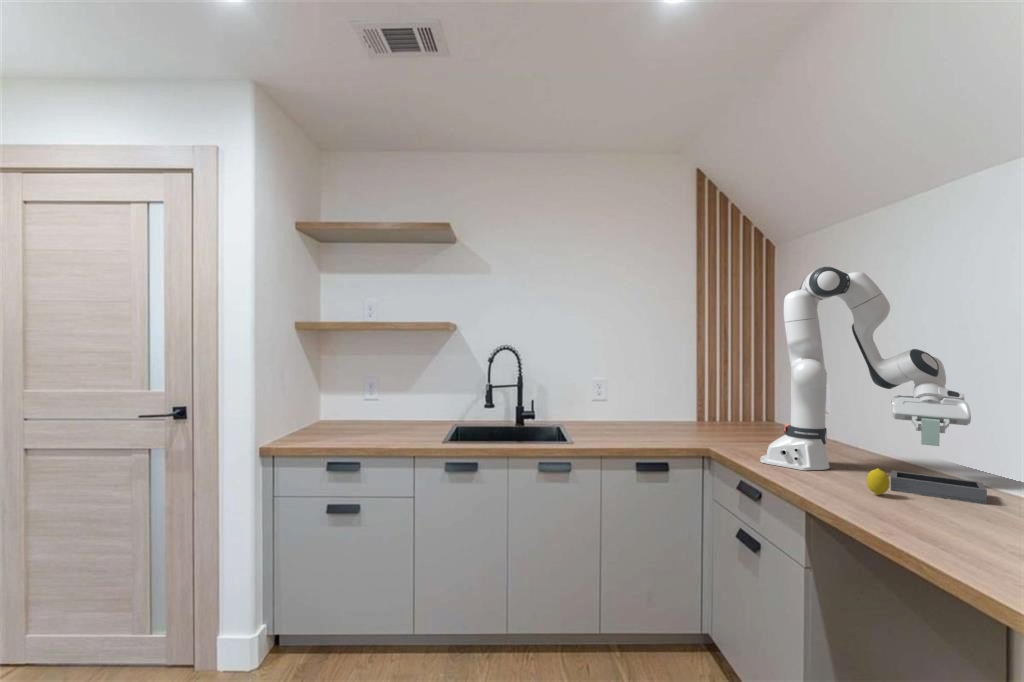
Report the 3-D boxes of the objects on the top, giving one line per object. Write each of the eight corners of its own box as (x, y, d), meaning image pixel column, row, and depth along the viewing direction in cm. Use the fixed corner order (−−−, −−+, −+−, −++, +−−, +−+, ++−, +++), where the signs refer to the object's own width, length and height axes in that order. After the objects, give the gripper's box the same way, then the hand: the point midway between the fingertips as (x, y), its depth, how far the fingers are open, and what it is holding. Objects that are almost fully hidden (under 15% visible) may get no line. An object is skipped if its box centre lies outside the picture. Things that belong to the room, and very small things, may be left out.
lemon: (867, 491, 161) (868, 465, 161) (889, 495, 157) (890, 468, 157) (865, 495, 156) (865, 468, 156) (888, 499, 153) (888, 471, 153)
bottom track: (890, 490, 162) (890, 477, 162) (891, 482, 170) (891, 470, 170) (986, 504, 149) (987, 490, 149) (982, 495, 157) (982, 482, 157)
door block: (921, 444, 170) (922, 419, 170) (920, 442, 174) (921, 417, 174) (939, 446, 168) (939, 421, 167) (938, 444, 171) (939, 419, 171)
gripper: (891, 389, 182) (890, 421, 174) (970, 394, 170) (972, 428, 162) (891, 401, 186) (890, 432, 178) (968, 406, 174) (970, 440, 166)
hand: (930, 430), depth 170 cm, fingers closed on door block, 4 cm apart
